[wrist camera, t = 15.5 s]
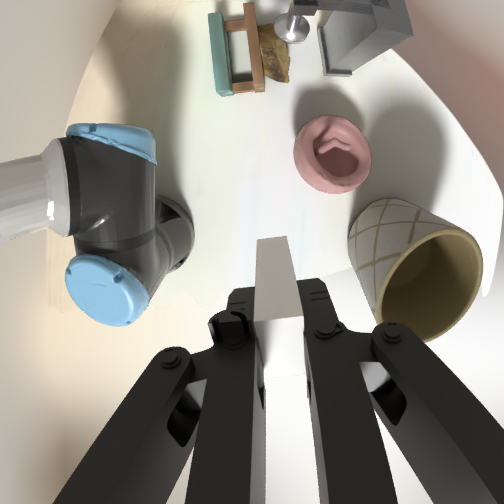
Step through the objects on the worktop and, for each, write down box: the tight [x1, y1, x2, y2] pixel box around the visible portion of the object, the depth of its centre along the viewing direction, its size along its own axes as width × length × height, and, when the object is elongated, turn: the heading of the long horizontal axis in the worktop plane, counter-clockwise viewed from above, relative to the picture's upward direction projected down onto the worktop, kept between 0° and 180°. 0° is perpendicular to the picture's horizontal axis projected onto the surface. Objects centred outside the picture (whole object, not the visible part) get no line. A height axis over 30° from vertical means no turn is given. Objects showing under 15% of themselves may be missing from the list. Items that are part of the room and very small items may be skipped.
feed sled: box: [208, 3, 264, 97], centre depth 34 cm, size 7×14×8 cm, turn 6°
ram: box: [274, 0, 310, 44], centre depth 19 cm, size 5×5×16 cm
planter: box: [348, 199, 483, 343], centre depth 40 cm, size 19×19×20 cm
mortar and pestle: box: [293, 115, 371, 194], centre depth 38 cm, size 12×12×12 cm
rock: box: [257, 24, 290, 83], centre depth 34 cm, size 11×9×10 cm
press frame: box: [291, 0, 414, 77], centre depth 26 cm, size 12×9×24 cm
